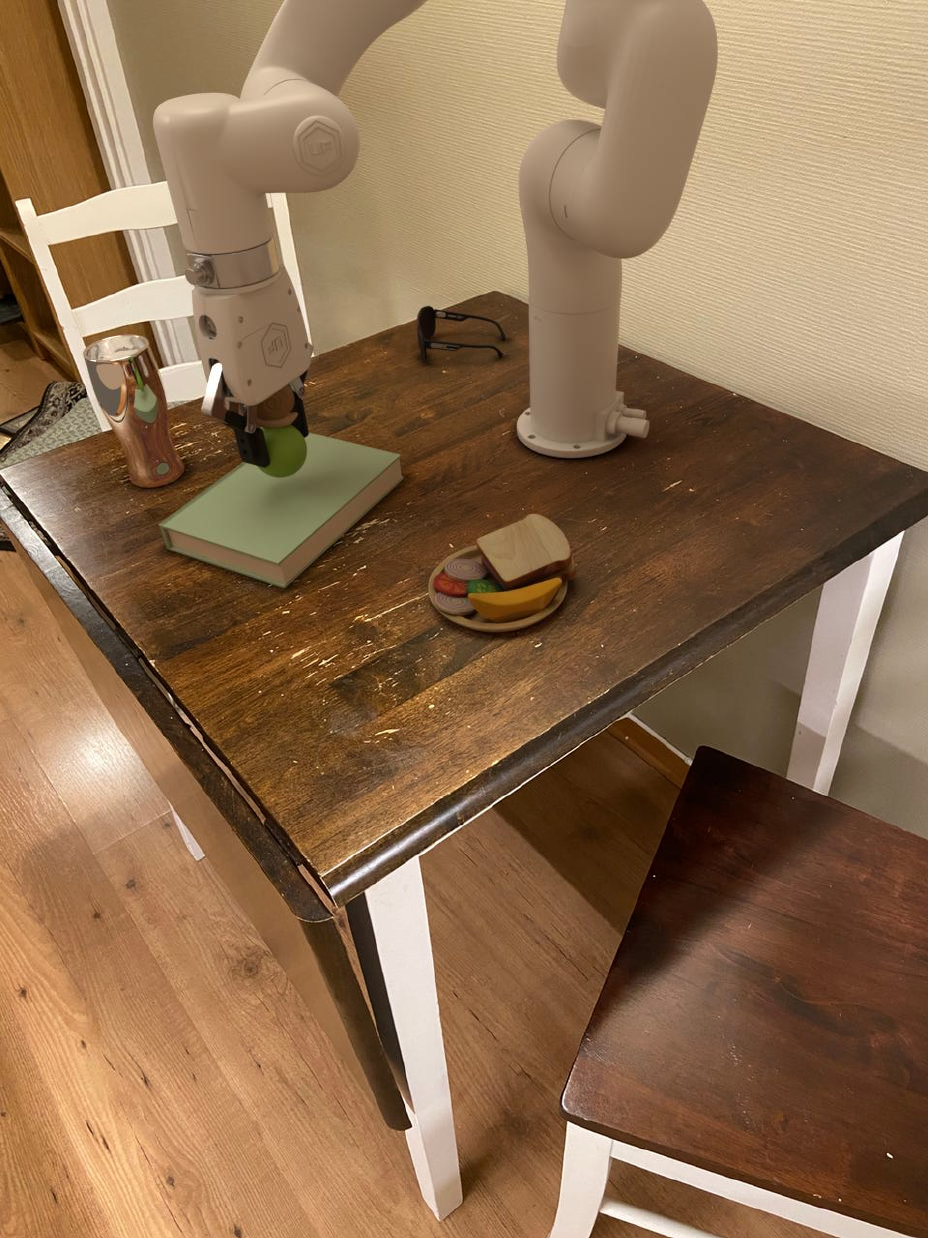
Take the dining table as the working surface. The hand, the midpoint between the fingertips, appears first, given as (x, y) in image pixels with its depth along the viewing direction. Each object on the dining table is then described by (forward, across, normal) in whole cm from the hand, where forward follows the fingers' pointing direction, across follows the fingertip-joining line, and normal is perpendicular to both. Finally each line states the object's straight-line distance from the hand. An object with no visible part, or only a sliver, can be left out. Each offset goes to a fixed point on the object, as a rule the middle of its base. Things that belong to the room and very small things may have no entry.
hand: (275, 447), depth 87 cm
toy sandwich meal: (+8, -2, -26) cm, 27 cm away
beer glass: (+8, 0, +19) cm, 21 cm away
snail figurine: (+3, 0, 0) cm, 3 cm away
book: (+8, 0, 0) cm, 8 cm away
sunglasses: (+8, +42, +3) cm, 43 cm away
